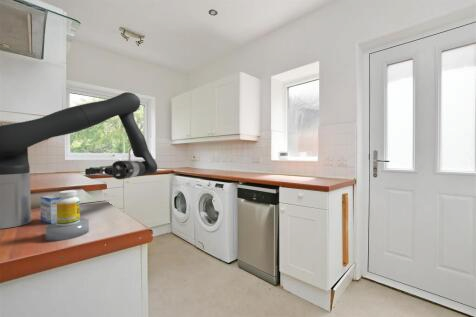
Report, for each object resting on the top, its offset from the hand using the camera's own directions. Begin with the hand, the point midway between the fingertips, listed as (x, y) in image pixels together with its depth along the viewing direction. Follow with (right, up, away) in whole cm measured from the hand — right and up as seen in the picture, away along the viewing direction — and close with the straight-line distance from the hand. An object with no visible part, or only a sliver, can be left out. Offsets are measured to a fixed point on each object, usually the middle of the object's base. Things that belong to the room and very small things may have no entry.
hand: (97, 172), depth 76 cm
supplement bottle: (-1, -15, -12) cm, 19 cm away
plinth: (-1, -17, -12) cm, 21 cm away
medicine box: (-17, -18, +1) cm, 24 cm away
